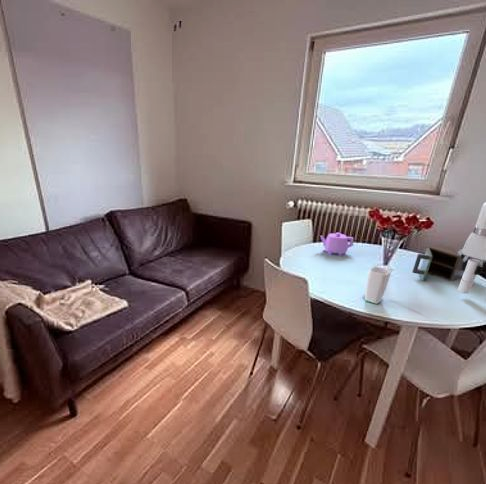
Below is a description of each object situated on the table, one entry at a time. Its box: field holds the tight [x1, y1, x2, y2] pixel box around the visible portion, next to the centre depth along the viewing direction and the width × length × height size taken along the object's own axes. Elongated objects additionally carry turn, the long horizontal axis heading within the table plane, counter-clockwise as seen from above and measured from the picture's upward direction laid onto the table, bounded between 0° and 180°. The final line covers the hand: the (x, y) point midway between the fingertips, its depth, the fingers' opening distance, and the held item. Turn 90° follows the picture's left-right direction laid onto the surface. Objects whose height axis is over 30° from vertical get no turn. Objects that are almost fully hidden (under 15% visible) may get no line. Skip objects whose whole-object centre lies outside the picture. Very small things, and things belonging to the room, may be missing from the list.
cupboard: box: [427, 244, 465, 281], centre depth 163 cm, size 11×15×14 cm
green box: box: [412, 247, 432, 282], centre depth 162 cm, size 6×15×14 cm, turn 153°
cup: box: [364, 266, 392, 305], centre depth 136 cm, size 7×7×15 cm
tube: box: [457, 258, 480, 295], centre depth 137 cm, size 4×4×15 cm
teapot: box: [319, 232, 354, 256], centre depth 193 cm, size 20×12×13 cm, turn 77°
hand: (470, 271), depth 137 cm, fingers closed on tube, 4 cm apart
